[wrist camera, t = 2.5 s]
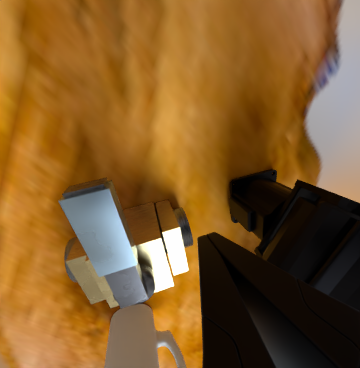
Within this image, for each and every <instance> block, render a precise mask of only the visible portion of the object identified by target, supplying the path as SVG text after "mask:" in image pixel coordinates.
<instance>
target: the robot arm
mask: <svg viewBox="0 0 360 368" xmlns="http://www.w3.org/2000/svg"><path fill="white" fill-rule="evenodd" d="M276 177H277V171H276V170H274V169H270V170H266V171H263V172H259V173H255V174H251V175H248V176H244V177H240V178H236V179H233V180H231V182H230V198H229V200H230V214H231V219H232V221H233V222H234V223H238V222H239V223H240V224H241V225H242V226H243V227H244V228H245V229H246V230H247V231H249V232H251V231H252V232H253V233H254V234H255V235H256V236H257V237H258V238H259V239H260V240H262V241H261V242H260V244H259V246H258V247H256V249H255V250H254V251H255V253H256V255H255V254H253V253H252V252H250V251H248V250H246V249H244V248H243V247H241V246H239V245H237V244H236V243H234V242H232V241H230V240H228V239H227V238H225V237H223V236H221V235H220V234H218V233H216V232H213V233H209V234H207V235H203V236H200V237H198V238H197V241H198V260H199V278H200V296H201V315H202V340H203V366H202V368H360V203H358V202H355V201H353V200H350V199H348V198H345V197H342V196H340V195H337V194H335V193H332V192H329V191H327V190H324V189H321V188H319V187H316V186H314V185H311V184H308V183H306V182H303V181H300V180H298V179H297V181H296V183H295V186H294V188H293V189H291V188H289V187H287V186H285V185H282V184H280V183H278V182H276ZM234 182H235V184H234ZM233 184H234V185H233ZM235 219H236V220H235Z"/></svg>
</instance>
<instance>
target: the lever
mask: <svg viewBox="0 0 360 368" xmlns="http://www.w3.org/2000/svg"><path fill="white" fill-rule="evenodd" d="M62 195H63V197H62V198H61V199H60V200H59V203H60V205H61V207H62V209H63V211H64V213H65V214H66V216H67V218H68V220H69V222H70V224H71V226H72V228H73V229H74V231H75V233H76V235H77V237H78V239H79V241H80V243H81V244H82V246H83V248H84V250H85V252H86V254H87V256H88V258H89V259H90V261H91V263H92V265H93V267H94V269H95V271H96V273H97V275H98V276H99V277H101V276H104V277H105V279H106V281H107V283H108V285H109V287H110V289H111V290H112V292H113V297H114V299H115V301H116V302H118V304H119V306H120V308H121V309H122V308H125V307H128V306H130V305H137V304H140V303H143V302H145V301H146V300H148V299H149V298H150V297H151V296H152V295H153V293H154V291H155V281H154V273H153V270H152V269H151V268H150V267H149V266H147V265H145V264H140V263H138V261H137V248H136V246H135V243H134V240H133V237H132V234H131V232H130V229H129V226H128V223H127V221H126V218H125V215H124V212H123V209H122V207H121V204H120V201H119V198H118V196H117V193H116V190H115V187H114V184H113V182H112V180H110V181H108V180H107V178H103V179H99V180H94V181H90V182H86V183H81V184H77V185H73V186H69V187H68V188H67V189H66V190H65V191H64V193H63V194H62Z"/></svg>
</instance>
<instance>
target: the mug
mask: <svg viewBox="0 0 360 368" xmlns="http://www.w3.org/2000/svg"><path fill="white" fill-rule="evenodd" d="M160 346H166V347H167V348H168V349H169V350H170V351H171V352H172V354H173V356H174V358H175V361H176V364H177V367H178V368H186V365H185V361H184V358H183V355H182V353H181V351H180V349H179V347H178V345H177V343H176V341H175V339H174V337H173V336H172V334H171V332H170V331H169V330H167V331H163V332H160V331H157V330H156V329H155V326H154V319H153V312H152V309H151V308H150V307H149V306H147V305H145V304H137V305H130V306H128V307H125V308H122V309H121V308H120V309H119V310H118V311H116V312H115V313H114V315H113V316H112V318H111V323H110V330H109V337H108V344H107V351H106V359H105V367H104V368H159V362H158V353H157V349H158V347H160Z"/></svg>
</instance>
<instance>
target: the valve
mask: <svg viewBox="0 0 360 368" xmlns="http://www.w3.org/2000/svg"><path fill="white" fill-rule="evenodd" d="M155 204H156V208H157V212H158V214H156V211H155V207H154V203H153V202H151V203H147V204H143V205H140V206H136V207H132V208H128V209H125V210H123V212H124V215H125V218H126V221H127V223H128V226H129V229H130V232H131V234H132V237H133V240H134V243H135V246H136V248H137V261H138V263H140V264H145V265H147V266H149V267H150V268H151V269H152V270H153V273H154V281H155V291H154V293H155V292H158V291H161V290H163V289H166V288H169V287H172V286H174V283H173V279H172V275H171V270H170V266H169V262H168V258H167V254H168V256H169V260H170V263H171V267H172V271H173V275H177V274H180V273H183V272H186V271H189V269H188V265H187V260H186V255H185V250H184V248H186V247H189V246H192V245H193V239H192V234H191V230H190V226H189V223H188V220H187V217H186V214H185V212H184V210H183V208H182V207H181V208H178V209H174V210H173V209H172V207H171V205H170V202H169V200H164V201H160V202H157V203H155ZM65 267H66V271H67V273H68V276H69V277H70V279H71V280H72V281H74V282H78V283H79V285H80V286H81V288H82V290H83V291H84V293H85V294H86V296H87V298H88V299H89V301H90V303H91V304H94V303H96V302H99V301H102V300H105V299H106V301H107V303H108V304H109V306H110V308H113V307H116V306H119V304H118V302H116V301H115V299H114V297H113V292H112V290H111V289H110V287H109V285H108V283H107V281H106V279H105V277H104V276H101V277H99V276H98V275H97V273H96V271H95V269H94V267H93V265H92V263H91V261H90V259H89V258H88V256H87V254H86V252H85V250H84V248H83V246H82V244H81V243H80V241H79V239H78V237H75V238H72V239H70V240H69V242H68V243H67V246H66V249H65Z"/></svg>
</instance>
